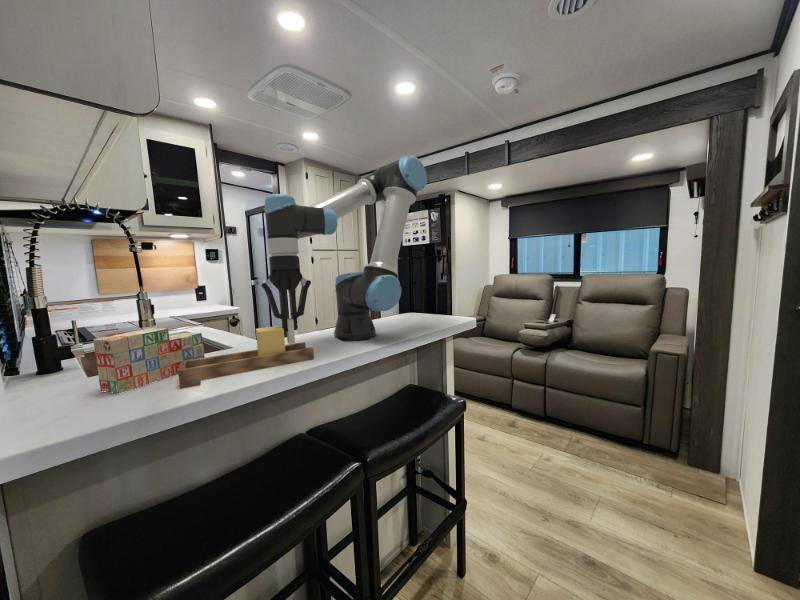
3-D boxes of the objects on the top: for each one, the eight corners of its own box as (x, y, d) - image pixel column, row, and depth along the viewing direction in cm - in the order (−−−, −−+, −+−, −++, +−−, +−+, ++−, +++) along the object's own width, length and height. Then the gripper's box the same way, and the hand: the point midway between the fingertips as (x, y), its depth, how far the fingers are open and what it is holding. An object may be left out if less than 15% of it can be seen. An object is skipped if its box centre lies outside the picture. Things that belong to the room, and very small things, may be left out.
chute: (305, 355, 94) (304, 342, 94) (314, 362, 86) (313, 348, 86) (182, 377, 79) (181, 361, 79) (180, 388, 71) (177, 371, 71)
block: (281, 357, 89) (279, 325, 88) (286, 362, 84) (283, 328, 83) (258, 361, 86) (255, 328, 85) (261, 367, 81) (258, 332, 80)
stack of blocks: (189, 364, 92) (184, 321, 90) (206, 365, 90) (201, 321, 88) (99, 392, 71) (92, 338, 70) (118, 395, 69) (111, 339, 68)
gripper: (305, 255, 92) (311, 336, 94) (255, 256, 85) (263, 344, 87) (312, 254, 85) (318, 341, 87) (259, 255, 79) (268, 349, 81)
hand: (291, 342), depth 87 cm, fingers closed
